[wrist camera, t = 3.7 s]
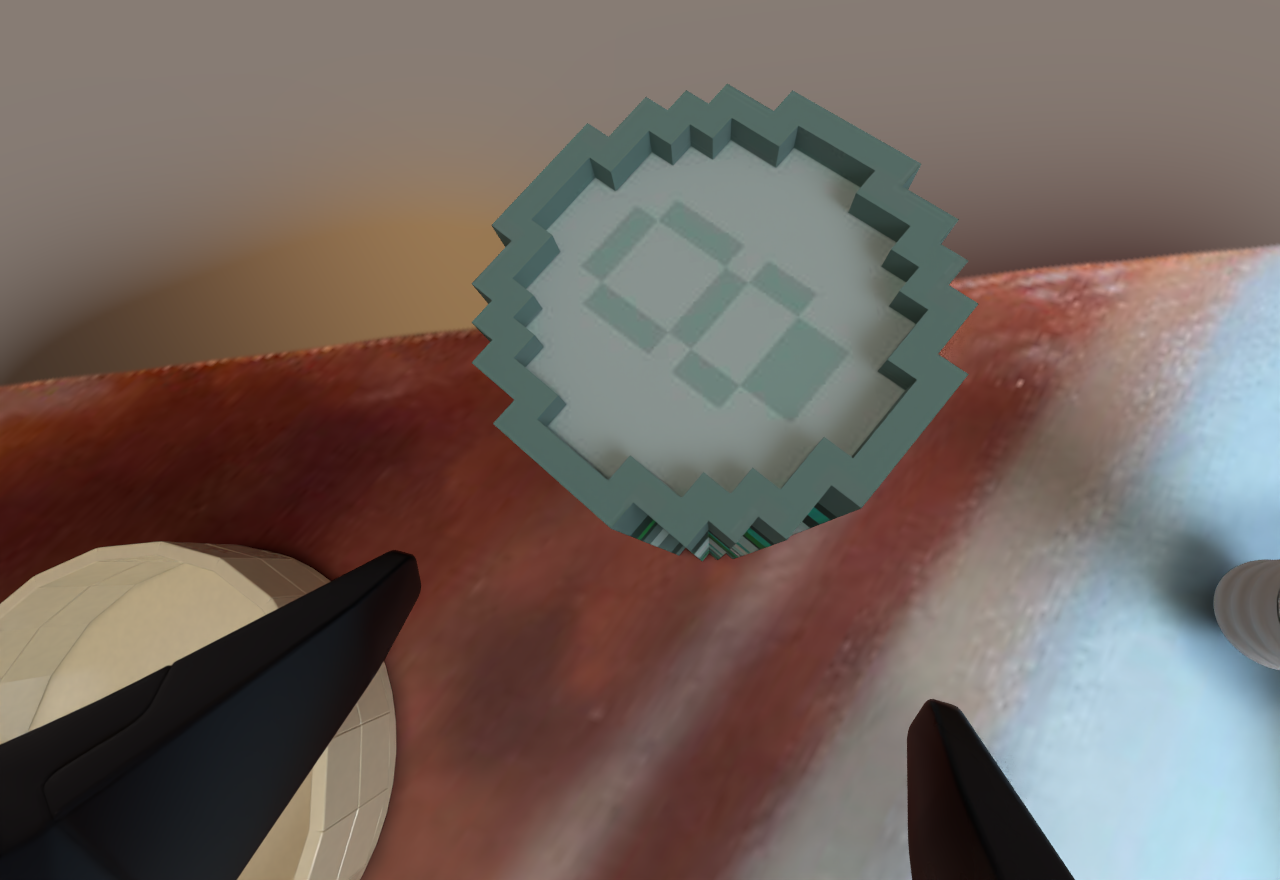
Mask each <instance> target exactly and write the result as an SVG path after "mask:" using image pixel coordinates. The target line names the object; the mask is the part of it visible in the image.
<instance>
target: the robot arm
mask: <svg viewBox="0 0 1280 880" xmlns="http://www.w3.org/2000/svg"><path fill="white" fill-rule="evenodd" d="M420 590H421V581H420V576H419V571H418V566H417V561H416V558H415V557H414V556H413V555H412V554H409V553H405V552H402V551H398V550H392V551H389V552H387V553H385V554H383V555H381V556H379V557H377V558H375V559H373V560H371V561H369V562H367V563H366V564H364V565H362V566H360V567H358V568H356V569H354V570H352V571H350V572H348V573H346V574H344V575H342V576H340V577H338V578H336V579H334V580H333V581H331V582H329V583H327V584H325V585H323V586H321V587H319V588H317V589H315V590H313V591H311V592H309V593H307V594H305V595H303V596H301V597H300V598H298V599H296V600H294V601H292V602H290V603H288V604H286V605H284V606H282V607H280V608H278V609H276V610H274V611H272V612H270V613H268V614H267V615H265V616H263V617H261V618H259V619H257V620H255V621H253V622H251V623H249V624H247V625H245V626H243V627H241V628H239V629H237V630H235V631H233V632H232V633H230V634H228V635H226V636H224V637H222V638H220V639H218V640H216V641H214V642H212V643H210V644H208V645H206V646H204V647H202V648H200V649H199V650H197V651H195V652H193V653H191V654H189V655H187V656H185V657H183V658H181V659H179V660H177V661H175V662H174V663H173V664H172V666H171V665H167V666H165V667H163V668H161V669H159V670H157V671H155V672H154V673H152V674H150V675H148V676H146V677H144V678H142V679H140V680H138V681H136V682H134V683H132V684H130V685H128V686H126V687H124V688H122V689H120V690H118V691H116V692H114V693H112V694H110V695H108V696H106V697H104V698H102V699H100V700H97V701H95V702H93V703H91V704H89V705H87V706H84V707H82V708H80V709H78V710H76V711H74V712H71V713H69V714H67V715H65V716H63V717H61V718H58V719H56V720H54V721H52V722H50V723H47V724H45V725H43V726H41V727H39V728H36V729H34V730H32V731H30V732H27V733H25V734H23V735H21V736H18V737H16V738H14V739H12V740H9V741H7V742H5V743H3V744H0V880H237V879H238V878H239V876H240V875H241V873H242V872H243V870H244V869H245V867H246V866H247V864H248V863H249V861H250V860H251V858H252V857H253V855H254V854H255V852H256V851H257V849H258V848H259V847H260V845H261V844H262V842H263V841H264V839H265V838H266V836H267V835H268V833H269V832H270V830H271V829H272V827H273V826H274V824H275V823H276V821H277V820H278V818H279V817H280V816H281V814H282V813H283V811H284V810H285V808H286V807H287V805H288V804H289V802H290V801H291V799H292V798H293V796H294V795H295V793H296V792H297V790H298V789H299V787H300V786H301V785H302V783H303V782H304V780H305V779H306V777H307V776H308V774H309V773H310V771H311V770H312V768H313V767H314V765H315V764H316V762H317V761H318V759H319V758H320V757H321V755H322V754H323V752H324V751H325V749H326V748H327V746H328V745H329V743H330V742H331V740H332V739H333V737H334V736H335V734H336V733H337V731H338V730H339V728H340V727H341V726H342V724H343V723H344V721H345V720H346V718H347V717H348V715H349V714H350V712H351V711H352V709H353V708H354V706H355V705H356V703H357V702H358V700H359V699H360V697H361V696H362V695H363V693H364V692H365V690H366V689H367V687H368V686H369V684H370V683H371V681H372V680H373V678H374V676H375V675H376V673H377V672H378V670H379V668H380V667H381V665H382V663H383V661H384V660H385V658H386V656H387V654H388V652H389V650H390V649H391V647H392V645H393V643H394V641H395V639H396V638H397V636H398V634H399V632H400V630H401V628H402V626H403V625H404V623H405V621H406V619H407V617H408V615H409V614H410V612H411V610H412V608H413V606H414V604H415V602H416V601H417V599H418V597H419V594H420ZM907 786H908V844H909V855H910V865H911V874H912V880H1075V879H1074V878H1073V876H1072V875H1071V873H1070V872H1069V870H1068V869H1067V867H1066V866H1065V864H1064V863H1063V861H1062V860H1061V858H1060V857H1059V855H1058V854H1057V852H1056V851H1055V849H1054V848H1053V846H1052V845H1051V843H1050V842H1049V840H1048V839H1047V837H1046V836H1045V834H1044V833H1043V832H1042V830H1041V829H1040V827H1039V826H1038V824H1037V823H1036V821H1035V820H1034V818H1033V817H1032V815H1031V814H1030V812H1029V811H1028V809H1027V808H1026V806H1025V805H1024V803H1023V802H1022V800H1021V799H1020V797H1019V796H1018V794H1017V793H1016V791H1015V790H1014V788H1013V787H1012V785H1011V784H1010V782H1009V781H1008V779H1007V778H1006V777H1005V775H1004V774H1003V772H1002V771H1001V769H1000V768H999V766H998V765H997V763H996V762H995V760H994V759H993V757H992V756H991V754H990V753H989V751H988V750H987V748H986V747H985V745H984V744H983V742H982V741H981V739H980V738H979V736H978V735H977V733H976V732H975V730H974V729H973V727H972V726H971V724H970V723H969V722H968V720H967V719H966V717H965V716H964V714H963V713H962V711H961V710H960V709H959V708H958V707H956V706H954V705H952V704H949V703H945V702H942V701H938V700H934V699H930V700H928V701H926V702H925V704H924V705H923V707H922V708H921V710H920V711H919V713H918V714H917V716H916V717H915V719H914V720H913V722H912V724H911V725H910V727H909V730H908V736H907Z"/></svg>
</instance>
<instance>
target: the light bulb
mask: <svg viewBox="0 0 1280 880" xmlns="http://www.w3.org/2000/svg"><path fill="white" fill-rule="evenodd" d="M1214 612H1215V616H1216V619H1217V622H1218V624H1219V627H1220V629H1221V630H1222V632H1223V634H1224V635H1225V637H1226V638H1227V639H1228V641H1229V642H1230V643H1231V644H1232V645H1233V646H1234V647H1235V648H1236V649H1237V650H1238V651H1239V652H1241V653H1242V654H1243V655H1245V656H1246V657H1248V658H1249V659H1251V660H1253V661H1255V662H1257V663H1259V664H1261V665H1263V666H1266V667H1269V668H1272V669H1276V670H1280V559H1279V560H1256V561H1250V562H1247V563H1244V564H1241V565H1239V566H1237V567H1235V568H1233V569H1232V570H1230V571H1229V572H1228V573H1226V574H1225V575H1224V576H1223V578H1222V579H1221V580H1220V582H1219V583H1218V585H1217V587H1216V590H1215V594H1214Z"/></svg>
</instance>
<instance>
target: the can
mask: <svg viewBox="0 0 1280 880" xmlns="http://www.w3.org/2000/svg"><path fill="white" fill-rule="evenodd" d="M920 165H921V164H920V163H919V162H917V161H915V160H913V159H912V158H910V157H908V156H906V155H905V154H903V153H901V152H900V151H898V150H896V149H894V148H893V147H891V146H889V145H887V144H886V143H884V142H882V141H880V140H878V139H876V138H875V137H873V136H871V135H870V134H868V133H866V132H864V131H863V130H861V129H859V128H857V127H856V126H854V125H852V124H850V123H849V122H847V121H845V120H843V119H842V118H840V117H838V116H836V115H835V114H833V113H831V112H829V111H828V110H826V109H824V108H822V107H820V106H819V105H817V104H815V103H814V102H812V101H810V100H808V99H807V98H805V97H803V96H801V95H799V94H798V93H796V92H794V91H792V92H791V93H790V94H789V95H788V96H787V97H786V98H785V99H784V101H783V102H782V103H781V104H780V105H779V106H778V107H777V108H776V109H775V111H773V110H771V109H769V108H768V107H766V106H764V105H763V104H761V103H759V102H758V101H756V100H754V99H752V98H751V97H749V96H747V95H746V94H744V93H742V92H741V91H739V90H737V89H735V88H734V87H732V86H730V85H729V84H726V86H725V87H724V88H723V89H722V90H721V91H720V92H719V93H718V94H717V95H716V96H715V98H714V99H713V100H712V101H711V102H710V103H709V104H708V103H706V102H704V101H703V100H701V99H700V98H698V97H696V96H695V95H693V94H692V93H690V92H688V91H687V90H686V91H685V92H684V93H683V94H682V95H681V97H680V98H679V99H678V100H677V101H676V102H675V103H674V104H673V105H672V106H671V107H670V108H669V109H668V110H666V109H665V108H663V107H661V106H660V105H658V104H656V103H655V102H653V101H652V100H650V99H649V98H647V97H645V99H643V101H642V102H641V103H640V104H639V105H638V106H637V107H636V108H635V109H634V110H633V111H632V112H631V114H630V115H629V116H628V117H627V118H626V119H625V120H624V121H623V122H622V123H621V124H620V125H619V127H617V129H616V130H615V131H614V132H613V133H612V134H611V135H610V136H609V137H608V136H606V135H605V134H603V133H602V132H600V131H599V130H597V129H596V128H594V127H593V126H591V125H589V124H588V123H587V124H586V125H585V126H584V127H583V129H582V130H581V131H580V132H579V133H578V134H577V135H576V136H575V137H574V138H573V139H572V140H571V141H570V143H569V144H567V146H566V147H565V148H564V149H563V150H562V151H561V152H560V153H559V154H558V155H557V156H556V157H555V158H554V159H553V160H552V162H551V163H550V164H549V165H548V166H547V167H546V168H545V169H544V170H543V171H542V172H541V173H540V174H539V175H538V176H537V178H536V179H535V180H534V181H533V182H532V183H531V184H530V185H529V186H528V187H527V188H526V189H525V190H524V191H523V192H522V193H521V195H520V196H519V197H518V198H517V199H516V200H515V201H514V202H513V203H512V204H511V205H510V206H509V207H508V208H507V209H506V210H505V211H504V213H503V214H502V215H501V216H500V217H499V218H498V219H497V220H496V221H495V222H494V223H493V224H492V227H493V228H494V230H495V231H496V233H497V234H498V236H499V238H500V239H501V241H502V242H503V244H504V246H505V249H504V250H503V251H502V252H501V253H500V254H499V255H498V256H497V257H496V258H495V259H494V260H493V262H492V263H491V264H490V265H489V266H488V267H487V268H486V269H485V270H484V271H483V272H482V273H481V274H480V275H479V276H478V277H477V279H476V280H475V281H474V282H473V283H472V285H473V286H474V287H475V288H476V289H477V290H478V292H479V293H480V294H481V295H482V297H483V298H484V299H485V300H486V301H487V303H488V305H487V307H486V308H485V309H484V310H483V311H482V312H481V313H480V314H479V315H478V316H477V317H476V318H475V319H474V320H473V322H472V323H473V324H474V325H475V326H476V328H477V329H478V330H479V331H480V332H481V333H482V334H483V335H484V336H485V337H486V338H487V339H488V340H489V341H490V343H489V344H488V345H487V346H486V347H485V349H484V350H483V351H482V352H481V353H480V354H479V355H478V356H477V357H476V358H475V359H474V361H473V362H472V364H474V365H475V366H476V367H477V368H478V369H479V370H481V371H482V372H483V373H484V374H485V375H486V376H488V377H489V378H490V379H491V380H492V381H493V382H494V383H496V384H497V385H498V386H499V387H500V388H501V389H503V390H504V391H505V392H506V393H507V394H508V395H510V396H511V397H512V398H513V399H514V401H513V402H512V403H511V404H510V405H509V407H508V408H507V409H506V410H505V411H504V412H503V413H502V414H501V416H500V417H499V418H498V419H497V420H496V421H495V422H494V423H493V424H494V425H495V426H496V427H497V428H499V429H500V430H501V431H502V432H503V433H504V434H505V435H506V436H507V437H509V438H510V439H511V440H512V441H513V442H514V443H515V444H516V445H518V446H519V447H520V448H521V449H522V450H523V451H524V452H525V453H527V454H528V455H529V456H530V457H531V458H532V459H533V460H534V461H536V462H537V463H538V464H539V465H540V466H541V467H542V468H543V469H545V470H546V471H547V472H548V473H549V474H550V475H551V476H552V477H554V478H555V479H556V480H557V481H558V482H559V483H560V484H561V485H563V486H564V487H565V488H566V489H567V490H568V491H569V492H570V493H572V494H573V495H574V496H575V497H576V498H577V499H578V500H579V501H581V502H582V503H583V504H584V505H585V506H586V507H587V508H588V509H590V510H591V511H592V512H593V513H594V514H595V515H596V516H597V517H599V518H600V519H601V520H602V521H603V522H604V523H605V524H606V525H608V526H609V527H610V528H611V529H613V530H616V531H619V532H621V533H624V534H626V535H629V536H631V537H634V538H636V539H639V540H641V541H644V542H646V543H649V544H651V545H654V546H656V547H659V548H662V549H664V550H667V551H669V552H672V553H674V554H677V555H680V554H681V553H682V551H683V550H684V549H685V548H687V549H688V550H689V551H691V552H692V553H693V554H694V555H695V556H696V557H698V558H699V559H700V560H701V561H703V560H704V559H705V558H706V556H707V555H708V554H709V553H710V554H711V555H712V556H713V557H714V558H715V559H717V560H718V559H720V558H721V557H722V556H723V555H724V554H725V553H726V554H727V555H728V556H730V557H731V558H732V559H735V558H738V557H740V556H743V555H746V554H749V553H752V552H754V551H757V550H760V549H763V548H766V547H768V546H771V545H774V544H777V543H780V542H782V541H785V540H787V539H788V538H789V537H790V536H791V535H794V534H796V533H799V532H802V531H804V530H807V529H809V528H812V527H814V526H817V525H820V524H822V523H825V522H827V521H830V520H832V519H835V518H837V517H840V516H843V515H845V514H848V513H850V512H853V511H855V510H858V509H860V508H862V507H863V506H864V504H865V503H866V502H867V501H868V499H869V498H870V497H871V496H872V494H873V493H874V492H875V491H876V489H877V488H878V487H879V486H880V484H881V483H882V482H883V481H884V479H885V478H886V477H887V476H888V474H889V473H890V472H891V471H892V469H893V468H894V467H895V466H896V464H897V463H898V462H899V461H900V459H901V458H902V457H903V456H904V454H905V453H906V452H907V451H908V449H909V448H910V447H911V446H912V444H913V443H914V442H915V441H916V439H917V438H918V437H919V436H920V434H921V433H922V432H923V431H924V429H925V428H926V427H927V426H928V424H929V423H930V422H931V421H932V419H933V418H934V417H935V416H936V414H937V413H938V412H939V411H940V409H941V408H942V407H943V406H944V404H945V403H946V402H947V401H948V399H949V398H950V397H951V396H952V394H953V393H954V392H955V391H956V389H957V388H958V387H959V386H960V384H961V383H962V382H963V381H964V379H965V378H966V377H967V376H968V374H967V373H966V372H964V371H963V370H961V369H960V368H958V367H957V366H955V365H954V364H952V363H950V362H949V361H947V360H946V359H944V358H943V357H941V356H940V355H938V353H939V352H940V351H941V350H942V348H943V347H944V346H945V345H946V343H947V342H948V341H949V340H950V338H951V337H952V336H953V335H954V334H955V332H956V331H957V330H958V329H959V327H960V326H961V325H962V324H963V322H964V321H965V320H966V319H967V318H968V316H969V315H970V314H971V313H972V311H973V310H974V309H975V308H976V306H977V305H978V303H976V302H975V301H973V300H972V299H970V298H968V297H967V296H965V295H964V294H962V293H960V292H959V291H957V290H956V289H954V288H952V287H951V286H949V284H950V283H951V282H952V280H953V279H954V278H955V277H956V275H957V274H958V273H959V272H960V271H961V269H962V268H963V267H964V266H965V265H966V263H967V262H968V260H966V259H965V258H963V257H961V256H960V255H958V254H956V253H955V252H953V251H951V250H950V249H948V248H946V247H945V246H943V245H941V244H942V242H943V241H944V239H945V238H946V237H947V235H948V234H949V233H950V231H951V230H952V228H953V227H954V225H955V224H956V223H957V221H958V219H957V218H955V217H953V216H951V215H950V214H948V213H947V212H945V211H943V210H942V209H940V208H938V207H936V206H935V205H933V204H931V203H930V202H928V201H926V200H925V199H923V198H921V197H919V196H918V195H916V194H914V193H913V192H911V191H909V190H908V189H909V187H910V185H911V183H912V181H913V179H914V177H915V175H916V173H917V171H918V170H919V168H920Z"/></svg>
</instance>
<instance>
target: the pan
mask: <svg viewBox="0 0 1280 880" xmlns="http://www.w3.org/2000/svg"><path fill="white" fill-rule="evenodd" d="M329 582H331V581H330V580H328V579H327V578H326V577H324V576H323V575H322V574H320V573H319V572H317V571H316V570H315V569H313V568H311V567H309V566H307V565H305V564H303V563H301V562H300V561H298V560H296V559H294V558H291V557H288V556H285V555H282V554H278V553H275V552H272V551H267V550H260V549H254V548H250V547H246V546H242V545H227V544H206V543H185V542H165V541H158V542H148V543H138V544H128V545H118V546H108V547H99V548H96V549H93V550H91V551H89V552H87V553H84V554H82V555H80V556H78V557H75V558H73V559H71V560H69V561H67V562H64V563H62V564H60V565H58V566H55V567H53V568H51V569H49V570H46V571H44V572H42V573H40V574H37V575H35V576H34V577H32V578H31V579H30V580H29V581H27V582H26V583H25V584H24V585H23V586H21V587H20V588H19V589H18V590H16V591H15V592H14V593H13V594H12V595H10V596H9V597H8V598H7V599H6V600H4V601H3V602H2V603H1V604H0V744H3V743H5V742H7V741H9V740H12V739H14V738H16V737H18V736H21V735H23V734H25V733H27V732H30V731H32V730H34V729H36V728H39V727H41V726H43V725H45V724H47V723H50V722H52V721H54V720H56V719H58V718H61V717H63V716H65V715H67V714H69V713H71V712H74V711H76V710H78V709H80V708H82V707H84V706H87V705H89V704H91V703H93V702H95V701H97V700H100V699H102V698H104V697H106V696H108V695H110V694H112V693H114V692H116V691H118V690H120V689H122V688H124V687H126V686H128V685H130V684H132V683H134V682H136V681H138V680H140V679H142V678H144V677H146V676H148V675H150V674H152V673H154V672H155V671H157V670H159V669H161V668H163V667H165V666H167V665H171V666H172V664H173V663H174V662H175V661H177V660H179V659H181V658H183V657H185V656H187V655H189V654H191V653H193V652H195V651H197V650H199V649H200V648H202V647H204V646H206V645H208V644H210V643H212V642H214V641H216V640H218V639H220V638H222V637H224V636H226V635H228V634H230V633H232V632H233V631H235V630H237V629H239V628H241V627H243V626H245V625H247V624H249V623H251V622H253V621H255V620H257V619H259V618H261V617H263V616H265V615H267V614H268V613H270V612H272V611H274V610H276V609H278V608H280V607H282V606H284V605H286V604H288V603H290V602H292V601H294V600H296V599H298V598H300V597H301V596H303V595H305V594H307V593H309V592H311V591H313V590H315V589H317V588H319V587H321V586H323V585H325V584H327V583H329ZM395 760H396V717H395V709H394V701H393V694H392V689H391V685H390V681H389V677H388V673H387V669H386V665H385V663H384V661H383V663H382V665H381V667H380V668H379V670H378V672H377V673H376V675H375V676H374V678H373V680H372V681H371V683H370V684H369V686H368V687H367V689H366V690H365V692H364V693H363V695H362V696H361V697H360V699H359V700H358V702H357V703H356V705H355V706H354V708H353V709H352V711H351V712H350V714H349V715H348V717H347V718H346V720H345V721H344V723H343V724H342V726H341V727H340V728H339V730H338V731H337V733H336V734H335V736H334V737H333V739H332V740H331V742H330V743H329V745H328V746H327V748H326V749H325V751H324V752H323V754H322V755H321V757H320V758H319V759H318V761H317V762H316V764H315V765H314V767H313V768H312V770H311V771H310V773H309V774H308V776H307V777H306V779H305V780H304V782H303V783H302V785H301V786H300V787H299V789H298V790H297V792H296V793H295V795H294V796H293V798H292V799H291V801H290V802H289V804H288V805H287V807H286V808H285V810H284V811H283V813H282V814H281V816H280V817H279V818H278V820H277V821H276V823H275V824H274V826H273V827H272V829H271V830H270V832H269V833H268V835H267V836H266V838H265V839H264V841H263V842H262V844H261V845H260V847H259V848H258V849H257V851H256V852H255V854H254V855H253V857H252V858H251V860H250V861H249V863H248V864H247V866H246V867H245V869H244V870H243V872H242V873H241V875H240V876H239V878H238V879H237V880H360V878H361V877H362V875H363V873H364V871H365V869H366V866H367V864H368V862H369V860H370V858H371V855H372V853H373V851H374V849H375V847H376V844H377V841H378V838H379V835H380V832H381V829H382V826H383V823H384V820H385V817H386V814H387V810H388V805H389V800H390V795H391V791H392V786H393V780H394V770H395Z"/></svg>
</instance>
